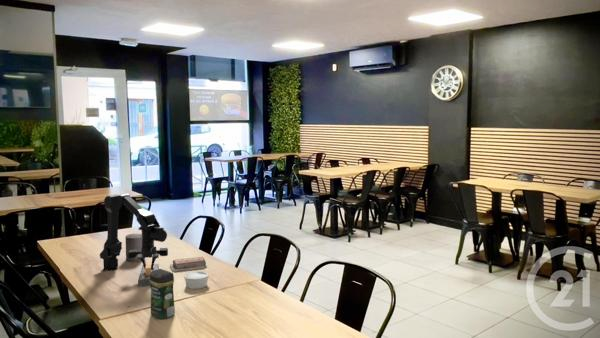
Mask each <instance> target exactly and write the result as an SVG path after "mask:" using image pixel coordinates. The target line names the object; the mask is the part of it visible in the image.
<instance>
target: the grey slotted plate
mask: <svg viewBox="0 0 600 338" xmlns="http://www.w3.org/2000/svg"><path fill="white" fill-rule="evenodd" d="M159 267H160V264H159V263H154V265H153V269H152V270H151V272H152V271H153V270H157V269H160V268H159ZM147 286H149V287H151V285H150V275H145V268H144V266H143V265H142V266H141V269H140V273H139V276H138V279H137V287H147Z"/></svg>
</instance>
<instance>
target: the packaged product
mask: <svg viewBox="0 0 600 338" xmlns="http://www.w3.org/2000/svg"><path fill="white" fill-rule="evenodd" d="M169 267H170V270H171V272H172V273H174V272H175V273H176V272H180V271H181V272H183V271H184V272H185V271H191V270H192V271H193V270H199V269H207V267H208V266H207V261H206V260H205V258H204V256H196V257H195V256H194V257H188V258H178V259H173V260H172V263H170V264H169Z"/></svg>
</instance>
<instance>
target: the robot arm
mask: <svg viewBox="0 0 600 338" xmlns="http://www.w3.org/2000/svg"><path fill="white" fill-rule="evenodd" d="M103 202H104V209H105V210H106V211H107V239H105V240H106V241H105V242H104V243H103V248H102V249H103V250H102V251H101V252H100V253H99V257H100V259H102V260H103V263H102V264H103V268H102V271H113V270H117V269H118V267H119V258H118V257H119V256H120V255H121V252H122V250H123V248H122V246H123V245H122V244H123V242H122V241H120V240H119V238H118V237H119V235H118V234H119V211H120V210H121V208H122V206H123V205H124V206H125V208H127V209H128V211H130V212H131V214H133V215H134V216H135V217H136V218H135V219H136V222H137V223H138V224H139V225H140V227H138V230H139V231H141V234H142V248H141V251H137V249H136V250H129V252H128V258H135V257H136V255H138V259H140V260H141V261H140V262H141V263H142V266H144V268H145V267H146V264H147V262H146V258H149V259H151V258H152V259H151V262H152V265H151V270H152V269H153V265H154V264H155V261H156V259H159V256H160V257H167V256H169V248H167V247H159V249H157V246H155V241H156V242H160V243H164V242H165V241H166V240H167V238H168V233H167V231H166V230H165V228H164V227H163V226H162V227H161V225H160V223H159V221H158V219H157V218H156V215H155V214H154V213H153V212H151V211H150V210H146V209H144V208H143V207H142V206H141V205H140V204H139V203H137V202H136V201H135V200H134V199H133V198H132V197H131V195H130V194H129V193H124V194H123V193H122V194H117V193H116V194H112V195H111V194H110V195H107V196H106V197H104V201H103Z"/></svg>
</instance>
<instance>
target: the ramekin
mask: <svg viewBox="0 0 600 338" xmlns="http://www.w3.org/2000/svg"><path fill="white" fill-rule="evenodd" d="M183 278H184V282H185V286H186V287H187V288H188V289H191V290H199V289H203V288H205V287H206V286H207V285H208V279H209V273H208V272H205V271H191V272H188V273H186V274H185V275H184V277H183Z"/></svg>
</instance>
